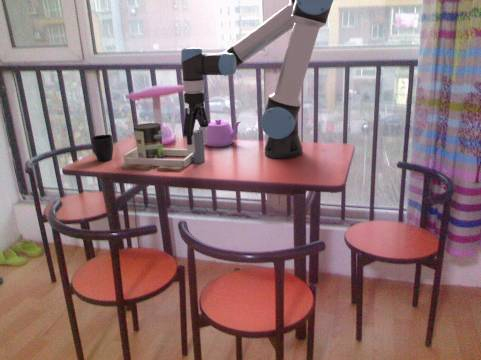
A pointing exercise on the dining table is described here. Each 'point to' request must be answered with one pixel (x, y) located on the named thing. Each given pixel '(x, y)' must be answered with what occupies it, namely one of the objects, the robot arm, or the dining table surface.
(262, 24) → the robot arm
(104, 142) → the mug
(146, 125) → the coffee can
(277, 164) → the dining table surface
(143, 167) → the broken strip
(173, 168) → the broken strip
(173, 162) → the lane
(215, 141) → the teapot
